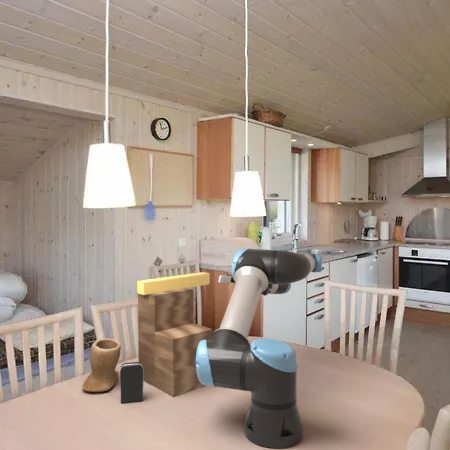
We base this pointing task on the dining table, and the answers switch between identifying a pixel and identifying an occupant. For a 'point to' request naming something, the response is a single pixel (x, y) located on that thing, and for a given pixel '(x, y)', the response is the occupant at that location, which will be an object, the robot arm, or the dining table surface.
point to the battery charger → (131, 382)
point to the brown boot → (103, 365)
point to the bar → (172, 283)
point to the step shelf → (169, 340)
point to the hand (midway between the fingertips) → (232, 284)
